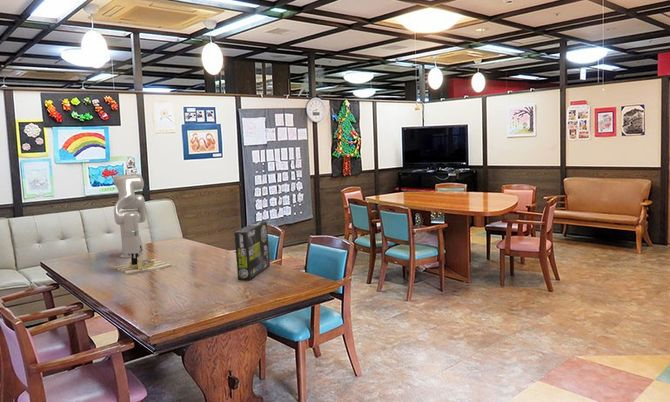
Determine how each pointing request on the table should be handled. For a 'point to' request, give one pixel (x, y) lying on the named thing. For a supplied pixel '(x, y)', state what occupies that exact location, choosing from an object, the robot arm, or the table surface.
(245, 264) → the box
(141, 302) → the table surface
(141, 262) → the ring nut
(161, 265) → the base
